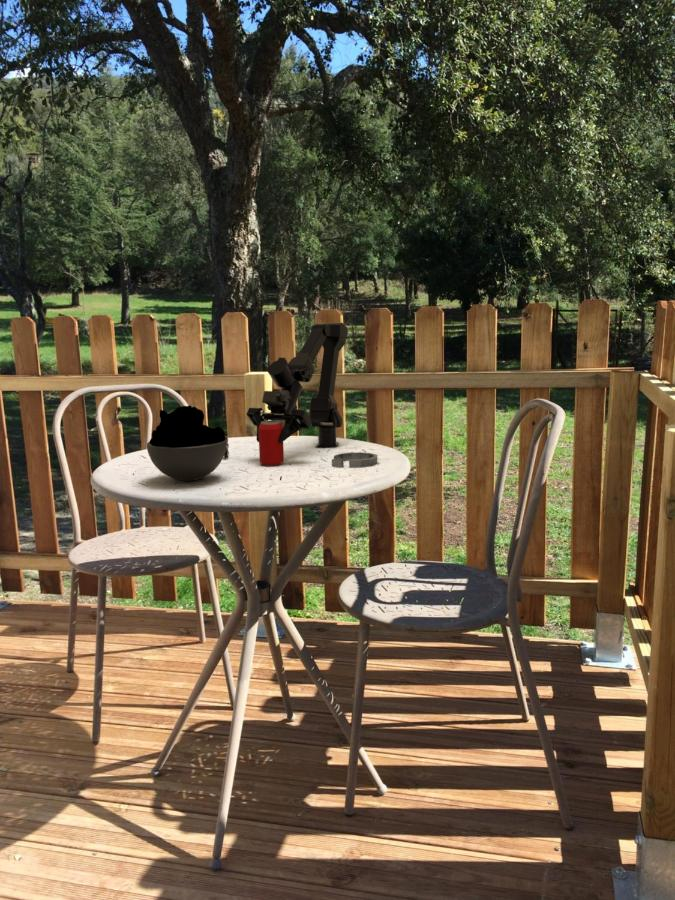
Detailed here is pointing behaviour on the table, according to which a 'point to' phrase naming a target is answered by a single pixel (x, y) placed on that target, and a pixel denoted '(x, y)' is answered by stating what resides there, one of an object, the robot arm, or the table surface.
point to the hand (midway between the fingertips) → (268, 441)
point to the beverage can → (270, 443)
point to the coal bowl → (186, 445)
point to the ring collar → (355, 459)
